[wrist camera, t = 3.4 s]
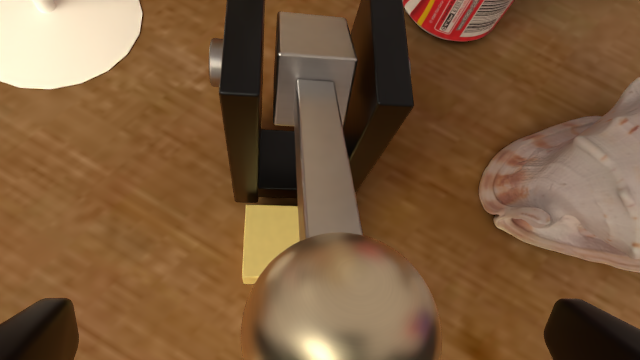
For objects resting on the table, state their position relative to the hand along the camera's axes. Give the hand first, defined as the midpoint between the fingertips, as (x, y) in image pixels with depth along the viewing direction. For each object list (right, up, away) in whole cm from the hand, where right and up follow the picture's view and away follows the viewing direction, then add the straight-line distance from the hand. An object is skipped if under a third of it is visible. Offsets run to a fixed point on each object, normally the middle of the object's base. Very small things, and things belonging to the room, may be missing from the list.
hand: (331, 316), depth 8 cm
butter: (-2, -1, +11) cm, 11 cm away
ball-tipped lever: (0, +2, +3) cm, 4 cm away
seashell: (+14, +1, +14) cm, 20 cm away
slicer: (-2, +3, +13) cm, 13 cm away
